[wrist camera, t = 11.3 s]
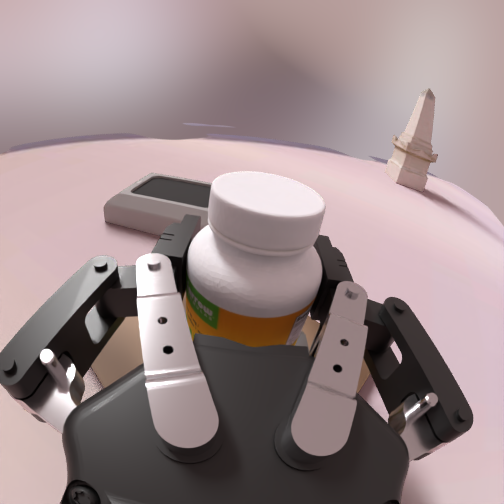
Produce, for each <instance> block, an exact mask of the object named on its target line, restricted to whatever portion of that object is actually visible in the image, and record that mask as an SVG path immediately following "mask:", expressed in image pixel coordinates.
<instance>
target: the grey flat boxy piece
mask: <svg viewBox="0 0 504 504" xmlns="http://www.w3.org/2000/svg"><path fill="white" fill-rule="evenodd" d="M211 185H212V183H208V182H203V181H197V180H192V179H186V178H180V177H175V176H169V175H163V174H156V173H150V174H148V175H147V176H145V177H143V178H142V179H140V180H139V181H137V182H135V183H134V184H132V185H131V186H129V187H127V188H126V189H124V190H123V191H121V192H120V193H118V194H117V195H115V196H114V197H113V198H111V199H110V200H109V201H108V202H107V203H106V204H105V206H104V217H105V222H108V223H112V224H116V225H120V226H124V227H128V228H132V229H136V230H139V231H143V232H147V233H151V234H155V235H159V236H161V235H162V234H163V232H164V230H165V229H166V227H167V226H169V225H171V224H172V223H181V221H182V220H183V218H184V216H185V214H189V215H196V216H201V228H200V231H201V230H202V229H203V228H204V227H206V226H207V225H209V224H208V206H209V198H210V190H211Z"/></svg>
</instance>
